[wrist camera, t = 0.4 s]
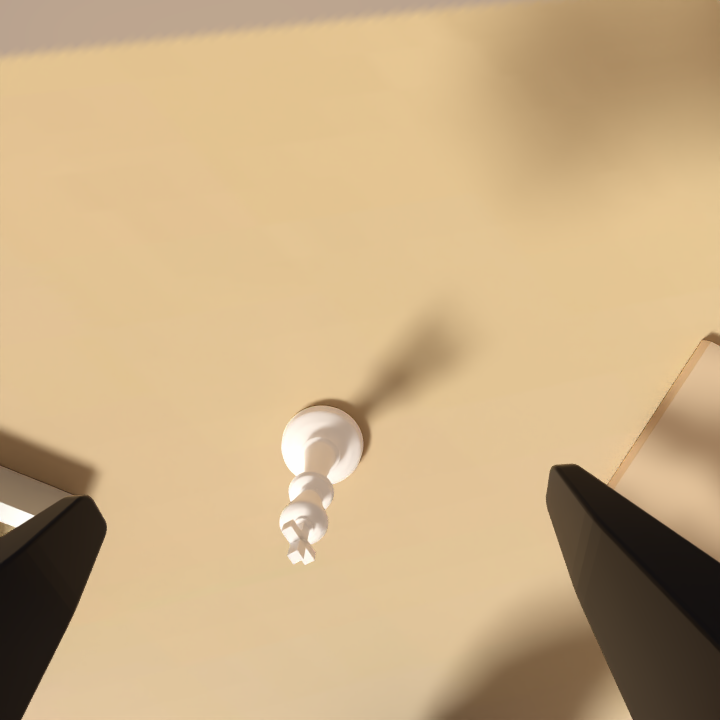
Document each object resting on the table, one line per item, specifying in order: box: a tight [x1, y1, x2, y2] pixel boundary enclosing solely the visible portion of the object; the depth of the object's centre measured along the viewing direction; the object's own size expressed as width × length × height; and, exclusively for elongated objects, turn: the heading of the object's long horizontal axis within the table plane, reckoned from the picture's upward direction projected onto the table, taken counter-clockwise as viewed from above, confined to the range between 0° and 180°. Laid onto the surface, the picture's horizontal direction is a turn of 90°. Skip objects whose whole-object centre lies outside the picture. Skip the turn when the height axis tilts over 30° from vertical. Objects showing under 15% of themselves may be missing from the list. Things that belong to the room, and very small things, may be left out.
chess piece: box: [280, 406, 363, 565], centre depth 19 cm, size 5×5×10 cm
